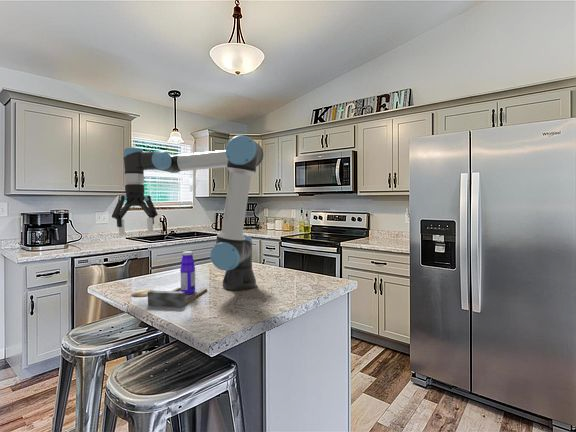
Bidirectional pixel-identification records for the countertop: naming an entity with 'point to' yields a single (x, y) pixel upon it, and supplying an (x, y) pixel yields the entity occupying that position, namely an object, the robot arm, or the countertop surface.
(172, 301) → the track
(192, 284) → the bottle
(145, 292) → the cork trivet
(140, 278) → the countertop surface
